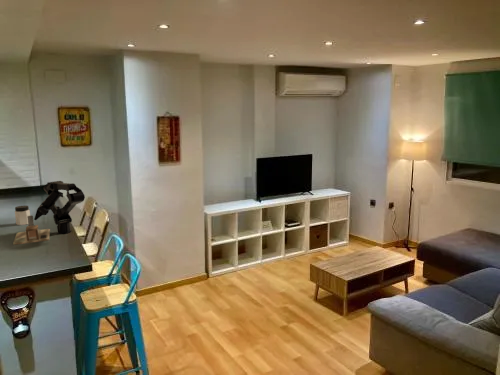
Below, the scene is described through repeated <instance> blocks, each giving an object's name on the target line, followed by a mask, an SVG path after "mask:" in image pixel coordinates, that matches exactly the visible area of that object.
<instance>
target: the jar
mask: <svg viewBox="0 0 500 375" xmlns="http://www.w3.org/2000/svg"><path fill="white" fill-rule="evenodd" d="M14 209H15V211H14V216H15V223H16V225H17V226H24V225H28V218H27V216H31V211H30V209H29V205H17V206H15V208H14Z"/></svg>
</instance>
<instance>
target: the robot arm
mask: <svg viewBox="0 0 500 375" xmlns="http://www.w3.org/2000/svg"><path fill="white" fill-rule="evenodd" d="M43 190H44V191H45V193H46V194H47V197H46V198H45V199H44V200H43V201H42V202H41V203H40V205H39V206H38V208H37V209H36V211H35V215H34V217H33V221H37V220H38V219H40V218H41V217H42V216H47V215H48V214H49V211H50V212H52V214H53V215H52V216H53V220H54V223H55V225H56V227H57V229H56V230H57V232H56V234H58V235H59V234H61V235H64V234H65V235H66V234H67V235H68V234H69V233H71V232H72V229H71V224H70V223H72V222H73V221H72V220H73V219H72V216H71V215H70V212H72V210H74V208H75V207H76V206H77V205H79V204H81V203H83V202H84V201H85V198H86V195H85V194H84V191H82V189H81V188H79V187H78V186H77V185H76V184H75V183H71V182H70V183H69V182H68V183H67V182H64V181H62V180H56V181H50V182H49V181H48V182H47V183H46V184H44V186H43ZM61 191H66V195H65V196H66V198H67V199H68V201H66V203H65V204H64V205H63V207H60V206H59V205H58V206H57V205H56V202H57V201H58V200H59V199H60V198H64V193H63V192H61ZM70 191H74V192H71V193H70Z"/></svg>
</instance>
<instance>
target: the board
mask: <svg viewBox="0 0 500 375" xmlns="http://www.w3.org/2000/svg"><path fill="white" fill-rule="evenodd" d="M50 233H51V229H50V228H45V229H39V234H38V237H39V240H37V238H34V239H29V241H27V239H26V237H27V236H26V231H20V232H16V235H15V238H14V240H13V246H16V245H24V244H31V243H38V242H45V241H50Z"/></svg>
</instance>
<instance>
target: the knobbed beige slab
mask: <svg viewBox="0 0 500 375" xmlns="http://www.w3.org/2000/svg"><path fill="white" fill-rule="evenodd" d="M27 218H28V224H27V226H34V225H35V223H34V216H33V214H32V215H31V214H30V216H27ZM39 230H40V228H38V234H39ZM28 234H29V239H34V238H36V230H33V231H28ZM26 239H27V237H26Z"/></svg>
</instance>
